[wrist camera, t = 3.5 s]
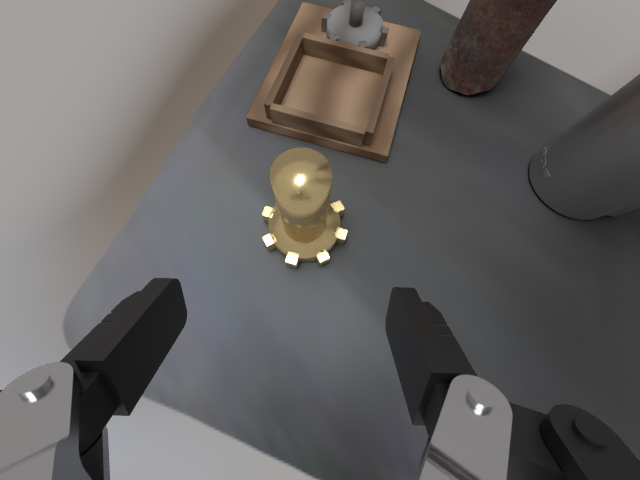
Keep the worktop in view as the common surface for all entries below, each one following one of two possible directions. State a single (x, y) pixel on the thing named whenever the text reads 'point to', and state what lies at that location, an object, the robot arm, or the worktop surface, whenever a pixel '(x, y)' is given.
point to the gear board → (338, 80)
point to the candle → (489, 42)
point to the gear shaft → (303, 208)
